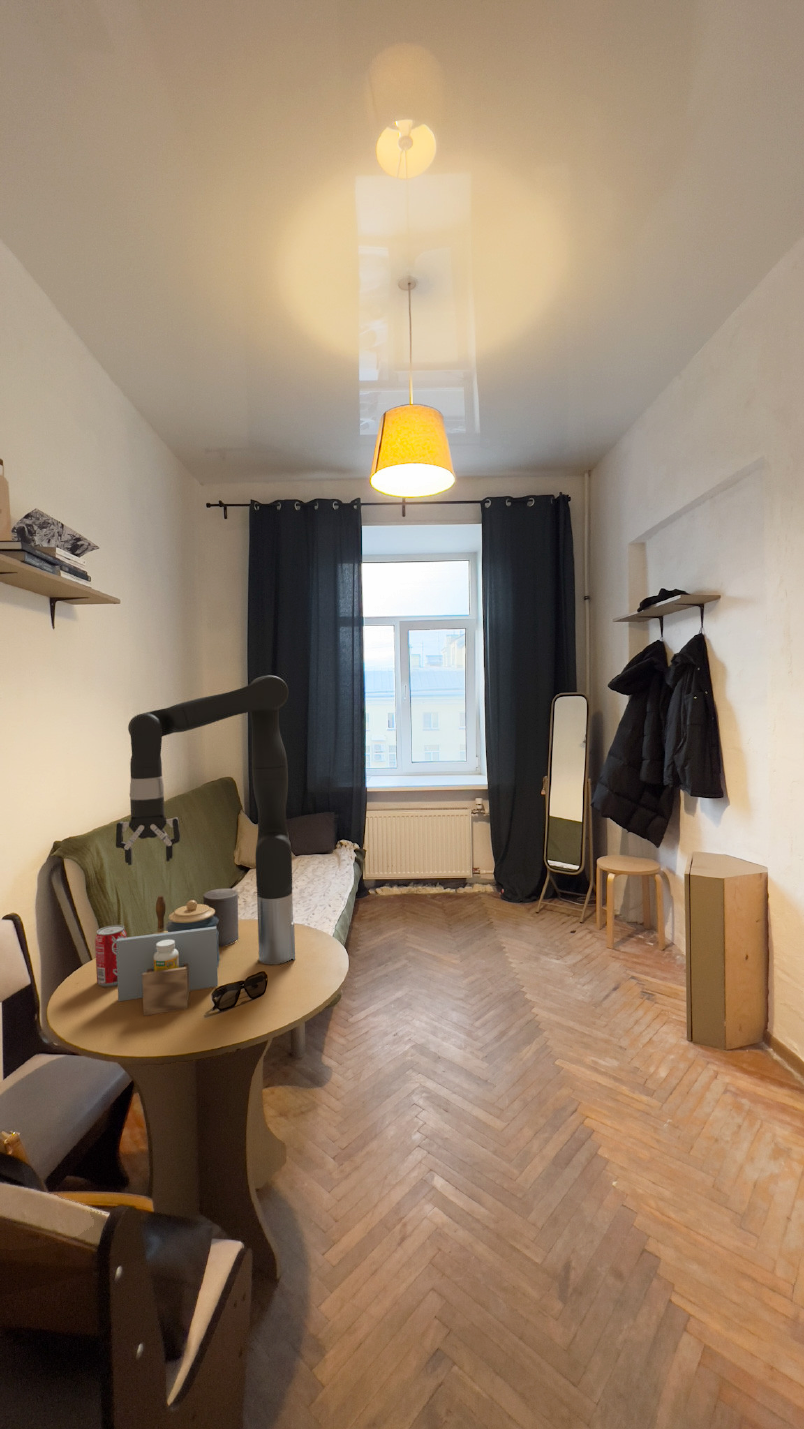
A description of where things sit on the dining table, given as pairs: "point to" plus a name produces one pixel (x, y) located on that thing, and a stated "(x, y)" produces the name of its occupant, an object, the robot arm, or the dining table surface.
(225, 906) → the pillar candle
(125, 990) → the wall board
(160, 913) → the hand bell
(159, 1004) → the cleat pocket
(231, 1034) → the dining table surface
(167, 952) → the supplement bottle
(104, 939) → the soda can
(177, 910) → the canister
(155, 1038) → the dining table surface
